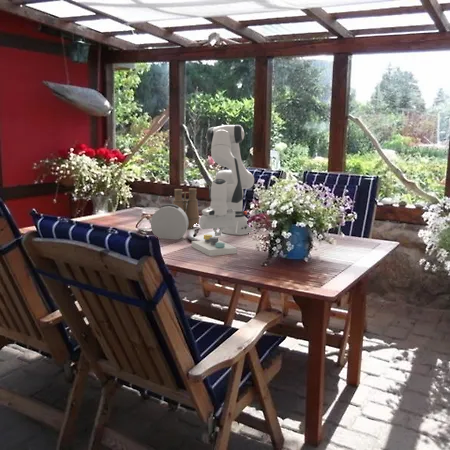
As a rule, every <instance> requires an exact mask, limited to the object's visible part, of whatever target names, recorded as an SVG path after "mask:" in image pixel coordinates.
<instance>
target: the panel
mask: <svg viewBox="0 0 450 450" xmlns="http://www.w3.org/2000/svg"><path fill="white" fill-rule="evenodd" d="M218 242H221V243H225V247H224V248H217V247H215V246H216V245H211V242H205V239H203V240H202V239H201V240H194V241H193V240H191V247H192V248H194V249H196V250H198V251H199V252H201V253H202V254H204V255H207V256H209V257H213V256H215V257H216V256H223V255H231V254H237V252H238V251H237V250H238V249H237V248H238V247H236V246H234V245H231V244H229V243H226V242H225V241H223V240H220V239H218ZM218 242H217V243H218Z"/></svg>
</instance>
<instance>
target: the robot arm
mask: <svg viewBox="0 0 450 450" xmlns="http://www.w3.org/2000/svg"><path fill="white" fill-rule="evenodd" d="M205 136H206V140H207V141H206V142H207V143H208V144H209V145H211V151H210V152H211V153H210V154H211V159H212V161H213V162H214V163H216V164H217V165H219V166H222V167H225V169H221V170H218V171H217V172H216V174H215V178H214V179H213V180H212V181H211V182H212V183H211V186H210V187H209V188H208V198H209V199H210V203H209V204H210V205H209V206H208V207H206V208H203V209H201V216H200V219H199V227H200V228H201V229H202V230H213V232H214V237H221V236H222V233H223V234H226V235H236V236H243V235H244V236H245V235H249V234H248V233H250V232H252V231H253V229H254V228H253V229H252V228H251V227H249V226H248V224H247V221H248V220H249V218H247V217H246V216H247V215H248V214H247V212H248V210H247V211H246V210H245V211H244V209H243V199H244V190H249V189H251V188H252V187H253V186H254V184H255V176H254V174H253V173H252V172H250V171H249V170H248V169H247V168H246V166H245V165H244V163H243V160H242V156H241V148H240V143H242V142H243V141H244V139H245V131H244V128H243V126H241V124H235V125H234V124H224V125H218V126H212V127H209V128H208V129H207V131H206V135H205ZM245 215H246V216H245Z"/></svg>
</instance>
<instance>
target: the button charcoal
mask: <svg viewBox="0 0 450 450" xmlns="http://www.w3.org/2000/svg"><path fill="white" fill-rule="evenodd" d="M218 240H219V237H218V236H212V237H210V240H209V241H210V242H211V245H216V243H217V242H218Z"/></svg>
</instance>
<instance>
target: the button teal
mask: <svg viewBox="0 0 450 450" xmlns="http://www.w3.org/2000/svg"><path fill="white" fill-rule="evenodd" d="M225 243H226V242H225ZM225 243H221V242H218V243H216V246H215V247H217V248H224V247H225Z"/></svg>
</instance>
